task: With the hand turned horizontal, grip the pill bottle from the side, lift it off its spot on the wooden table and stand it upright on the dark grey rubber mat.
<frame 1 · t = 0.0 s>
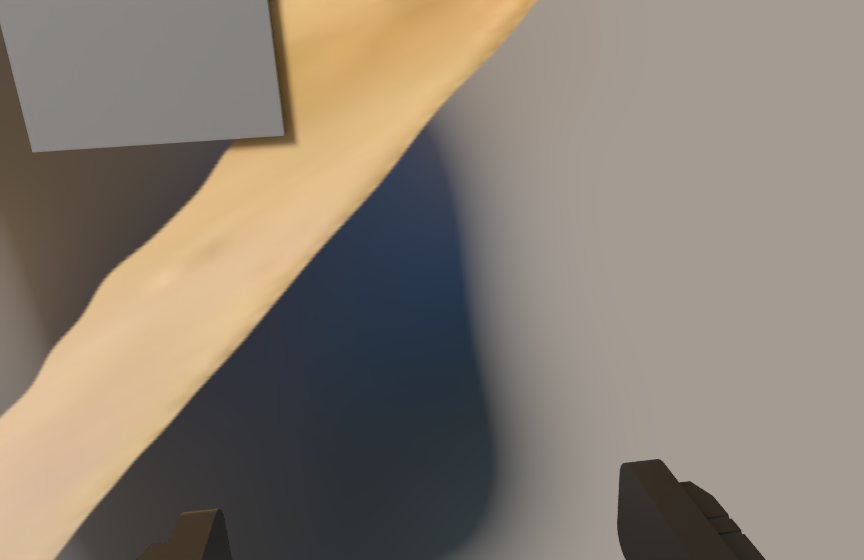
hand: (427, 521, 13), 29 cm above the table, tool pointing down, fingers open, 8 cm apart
mat: (144, 32, 36), on the table
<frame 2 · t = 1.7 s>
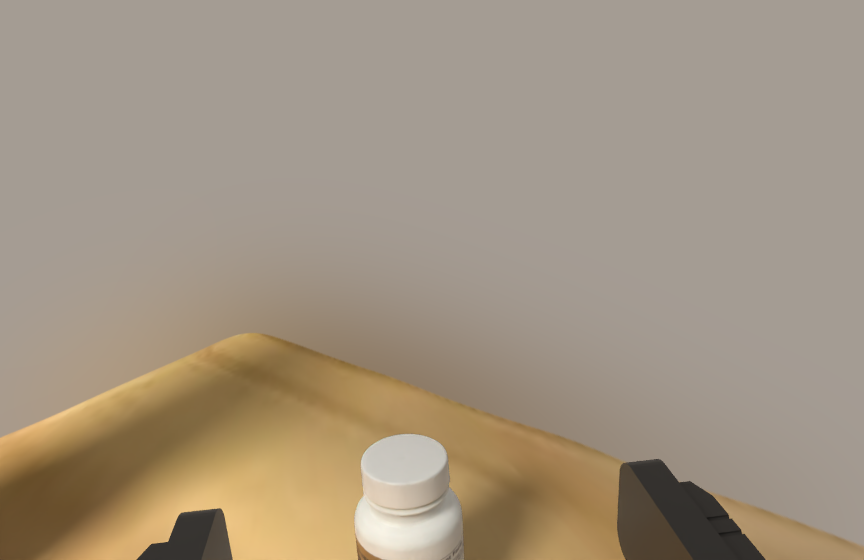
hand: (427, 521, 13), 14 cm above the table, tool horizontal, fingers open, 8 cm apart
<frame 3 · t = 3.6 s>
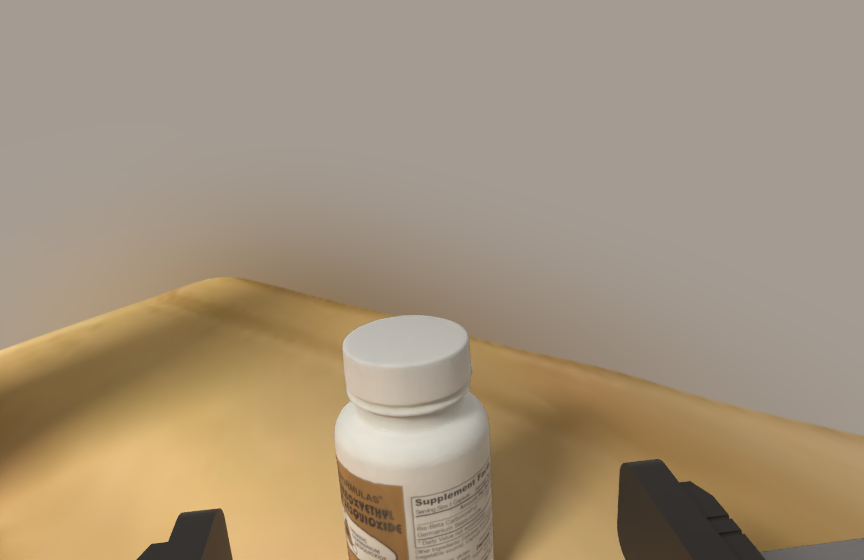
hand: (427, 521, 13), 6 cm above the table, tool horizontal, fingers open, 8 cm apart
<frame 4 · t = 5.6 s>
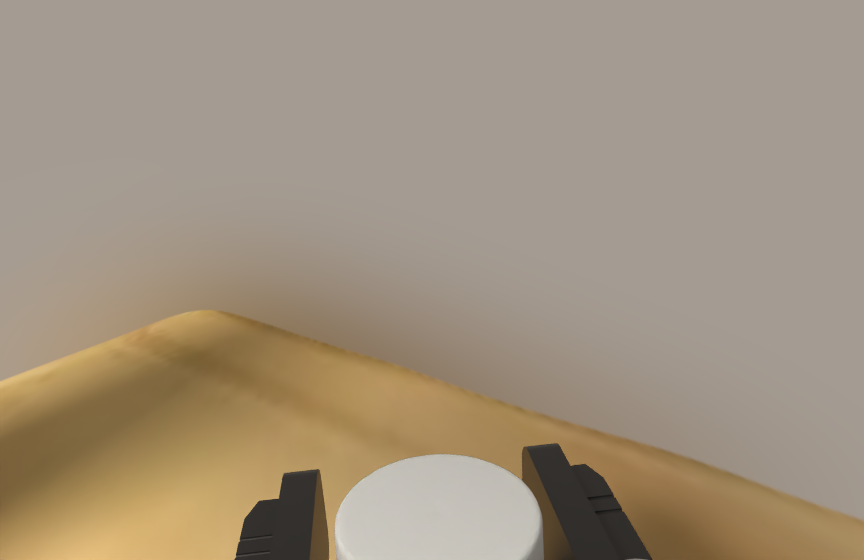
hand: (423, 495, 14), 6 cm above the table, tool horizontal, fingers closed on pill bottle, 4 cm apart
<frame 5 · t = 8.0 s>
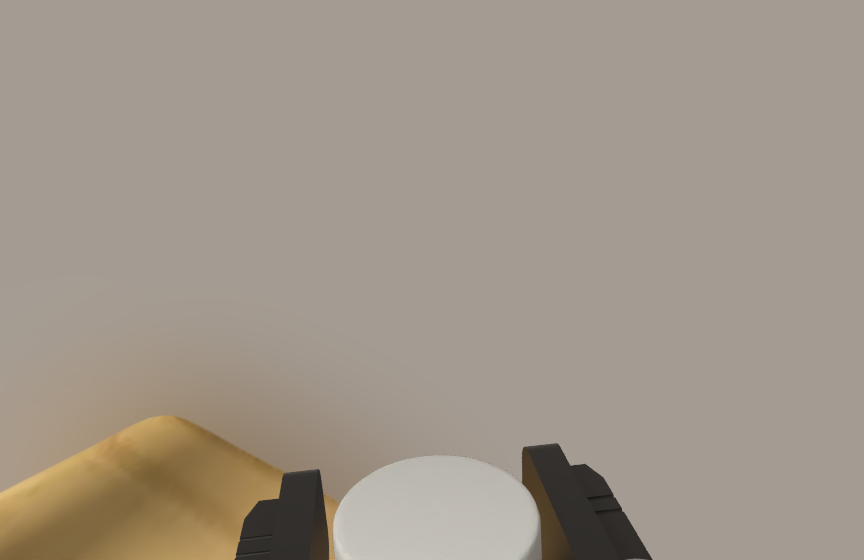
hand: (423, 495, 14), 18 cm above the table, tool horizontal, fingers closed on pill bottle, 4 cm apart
when the fingers open (8 cm above the table, at t = 10.5 s): pill bottle drops 1 cm, resting on mat.
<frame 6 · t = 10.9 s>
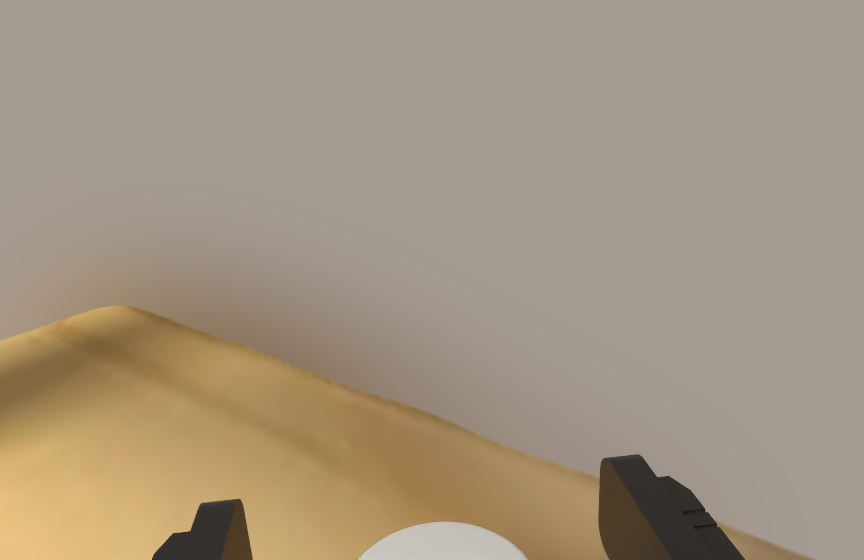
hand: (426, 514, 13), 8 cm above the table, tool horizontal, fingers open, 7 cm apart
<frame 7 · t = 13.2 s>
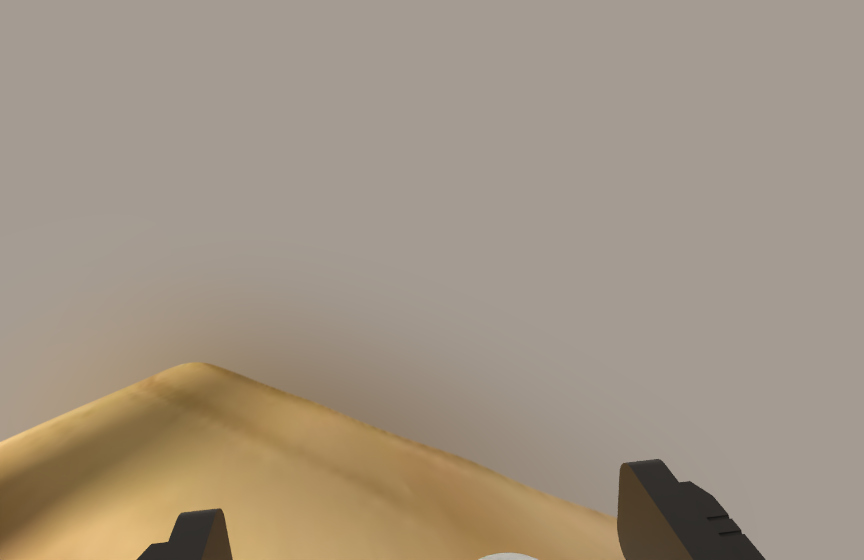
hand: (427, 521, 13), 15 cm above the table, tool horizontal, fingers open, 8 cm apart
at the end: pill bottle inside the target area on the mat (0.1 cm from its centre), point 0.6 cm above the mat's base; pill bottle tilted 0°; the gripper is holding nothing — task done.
